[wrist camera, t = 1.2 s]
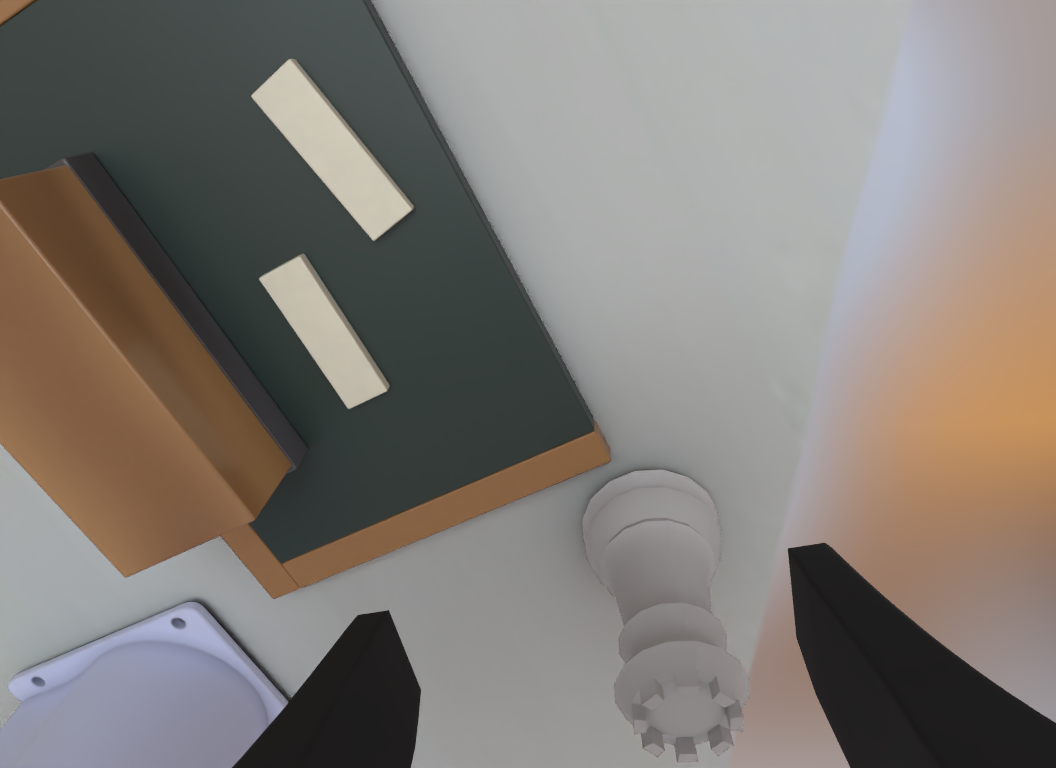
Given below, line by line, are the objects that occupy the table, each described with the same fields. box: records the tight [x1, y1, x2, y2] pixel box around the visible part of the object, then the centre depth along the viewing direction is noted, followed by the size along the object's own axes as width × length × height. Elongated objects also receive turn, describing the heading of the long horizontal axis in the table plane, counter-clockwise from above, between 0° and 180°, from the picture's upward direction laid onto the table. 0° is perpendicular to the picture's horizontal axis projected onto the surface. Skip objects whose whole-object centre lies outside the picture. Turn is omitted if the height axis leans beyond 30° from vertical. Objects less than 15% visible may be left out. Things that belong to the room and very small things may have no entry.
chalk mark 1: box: [251, 59, 414, 241], centre depth 18 cm, size 4×1×1 cm, turn 37°
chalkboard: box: [0, 0, 611, 599], centre depth 20 cm, size 13×19×1 cm
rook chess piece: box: [582, 470, 750, 762], centre depth 20 cm, size 4×4×8 cm
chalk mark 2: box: [259, 253, 390, 409], centre depth 20 cm, size 4×1×1 cm, turn 27°
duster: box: [0, 152, 308, 577], centre depth 19 cm, size 4×10×4 cm, turn 27°
